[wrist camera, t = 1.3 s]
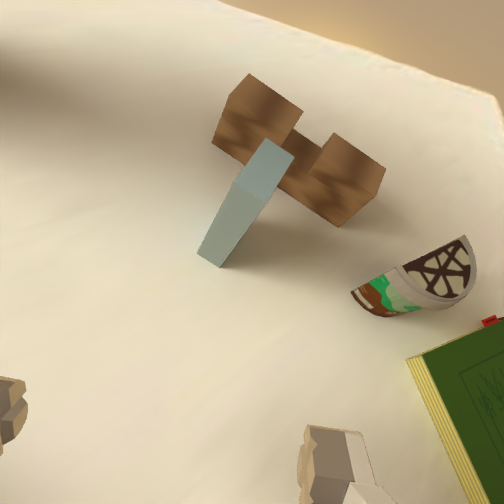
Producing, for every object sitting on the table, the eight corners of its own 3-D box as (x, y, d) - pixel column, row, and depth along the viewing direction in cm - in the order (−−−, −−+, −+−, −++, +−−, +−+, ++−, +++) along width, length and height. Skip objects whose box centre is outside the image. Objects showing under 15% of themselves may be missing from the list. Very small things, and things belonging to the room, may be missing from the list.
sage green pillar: (196, 253, 40) (233, 182, 28) (222, 215, 43) (265, 137, 31) (219, 267, 40) (265, 203, 28) (243, 229, 44) (294, 156, 32)
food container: (367, 342, 43) (431, 323, 35) (341, 296, 45) (397, 266, 36) (430, 305, 49) (499, 281, 40) (406, 265, 50) (467, 233, 42)
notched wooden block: (211, 142, 47) (229, 95, 40) (229, 121, 50) (249, 73, 43) (338, 227, 49) (375, 196, 42) (349, 202, 51) (386, 168, 44)
